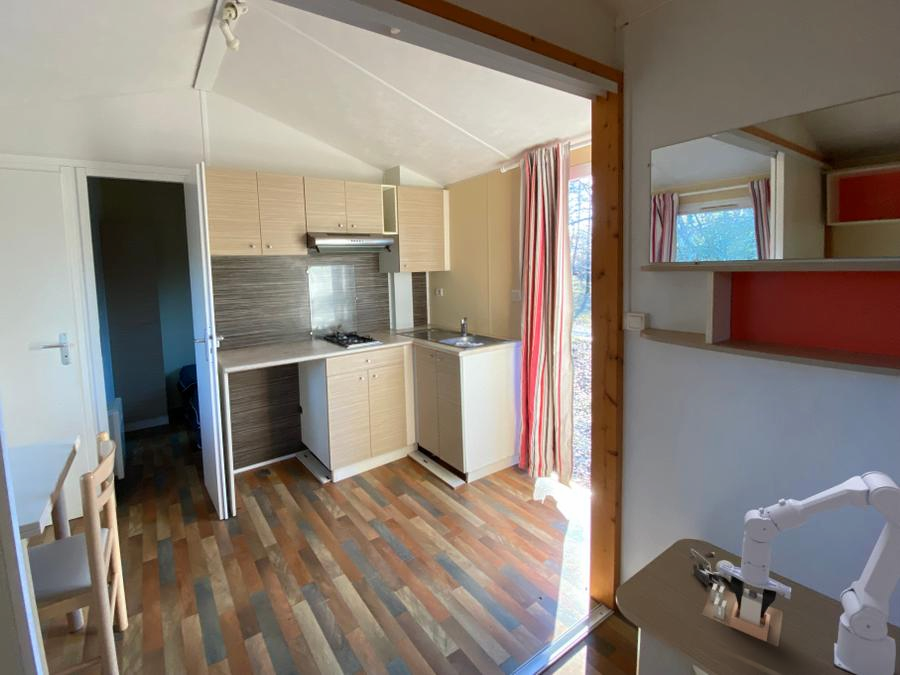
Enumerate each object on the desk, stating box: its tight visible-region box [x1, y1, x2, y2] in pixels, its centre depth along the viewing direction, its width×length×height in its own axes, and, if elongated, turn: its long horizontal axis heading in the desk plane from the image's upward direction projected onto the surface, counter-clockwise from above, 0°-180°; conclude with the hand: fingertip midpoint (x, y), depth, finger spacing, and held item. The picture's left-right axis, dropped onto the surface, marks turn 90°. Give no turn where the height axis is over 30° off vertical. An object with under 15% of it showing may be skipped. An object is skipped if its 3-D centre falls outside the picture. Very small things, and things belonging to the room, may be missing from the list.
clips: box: [711, 583, 727, 620], centre depth 118 cm, size 4×9×3 cm, turn 140°
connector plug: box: [739, 587, 763, 627], centre depth 111 cm, size 4×4×8 cm
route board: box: [701, 586, 784, 648], centre depth 116 cm, size 16×15×1 cm
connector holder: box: [730, 602, 770, 642], centre depth 112 cm, size 7×7×2 cm
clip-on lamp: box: [690, 548, 735, 589], centre depth 133 cm, size 12×6×18 cm
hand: (751, 611), depth 111 cm, fingers closed on connector plug, 4 cm apart
